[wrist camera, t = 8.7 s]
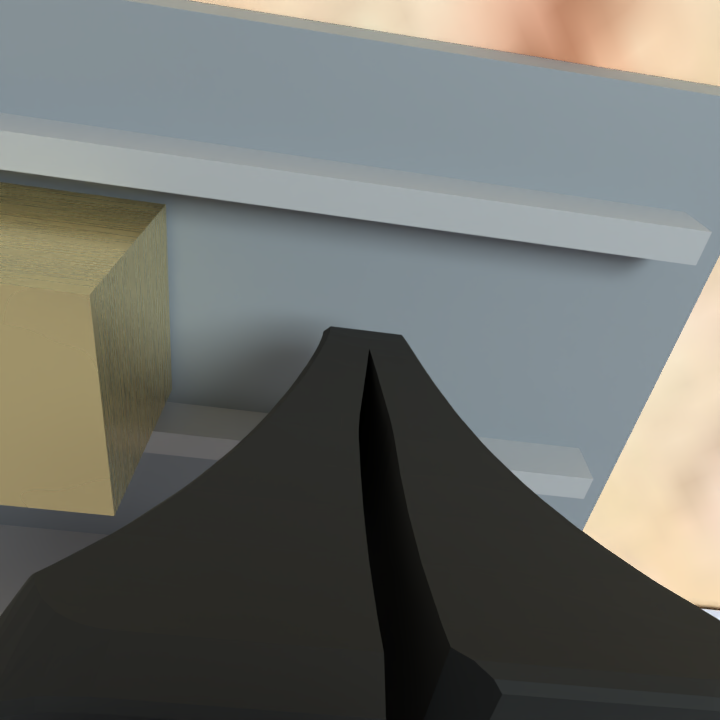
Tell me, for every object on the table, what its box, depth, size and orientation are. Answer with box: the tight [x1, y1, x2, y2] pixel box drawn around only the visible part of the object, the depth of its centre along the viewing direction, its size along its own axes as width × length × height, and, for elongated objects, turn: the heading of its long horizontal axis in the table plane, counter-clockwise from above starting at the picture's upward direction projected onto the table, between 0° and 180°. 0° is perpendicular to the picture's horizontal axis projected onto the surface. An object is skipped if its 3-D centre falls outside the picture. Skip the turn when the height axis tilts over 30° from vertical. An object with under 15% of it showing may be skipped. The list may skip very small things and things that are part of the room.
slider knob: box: [0, 182, 172, 516], centre depth 10 cm, size 4×4×4 cm
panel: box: [0, 0, 720, 616], centre depth 15 cm, size 18×21×4 cm
